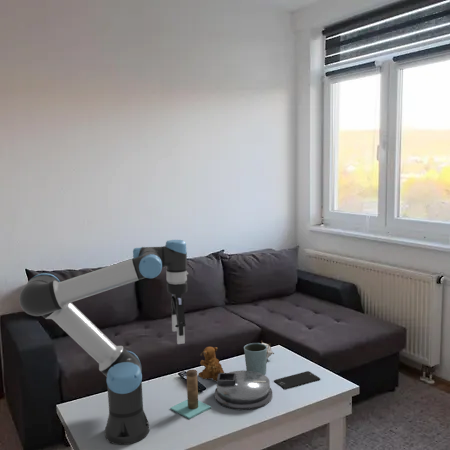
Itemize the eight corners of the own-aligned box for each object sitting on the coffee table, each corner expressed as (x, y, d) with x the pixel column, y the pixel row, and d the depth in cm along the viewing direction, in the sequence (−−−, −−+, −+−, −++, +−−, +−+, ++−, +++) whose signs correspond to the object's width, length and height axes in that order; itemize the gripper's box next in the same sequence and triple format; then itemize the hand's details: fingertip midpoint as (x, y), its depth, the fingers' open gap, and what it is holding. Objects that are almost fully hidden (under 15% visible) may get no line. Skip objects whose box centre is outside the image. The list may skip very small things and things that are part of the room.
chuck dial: (269, 379, 209) (269, 366, 208) (269, 404, 188) (269, 389, 187) (219, 379, 211) (219, 365, 210) (214, 403, 190) (213, 388, 189)
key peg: (188, 410, 188) (187, 374, 186) (187, 404, 192) (185, 370, 190) (199, 408, 189) (197, 373, 187) (197, 403, 193) (196, 369, 191)
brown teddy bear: (216, 369, 225) (215, 341, 223) (231, 381, 213) (230, 351, 211) (196, 374, 221) (195, 345, 219) (210, 386, 208) (209, 356, 206)
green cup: (268, 377, 215) (267, 351, 213) (244, 378, 215) (244, 351, 213) (266, 367, 225) (266, 342, 223) (244, 368, 225) (243, 342, 223)
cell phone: (273, 382, 212) (273, 380, 212) (308, 372, 220) (308, 370, 219) (285, 390, 204) (285, 388, 204) (320, 380, 212) (320, 378, 212)
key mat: (189, 419, 183) (189, 417, 183) (170, 409, 190) (170, 407, 190) (211, 407, 190) (211, 406, 190) (191, 398, 198) (191, 397, 198)
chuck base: (241, 377, 216) (241, 373, 216) (284, 394, 200) (284, 390, 199) (202, 396, 200) (202, 392, 199) (245, 416, 184) (245, 412, 183)
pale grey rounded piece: (268, 366, 236) (281, 350, 233) (257, 365, 229) (270, 349, 227) (258, 352, 241) (270, 337, 239) (247, 351, 235) (259, 335, 233)
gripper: (192, 289, 174) (193, 348, 177) (182, 273, 198) (183, 325, 201) (171, 291, 172) (172, 350, 175) (163, 274, 196) (164, 327, 199)
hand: (178, 337), depth 188 cm, fingers open, 13 cm apart
